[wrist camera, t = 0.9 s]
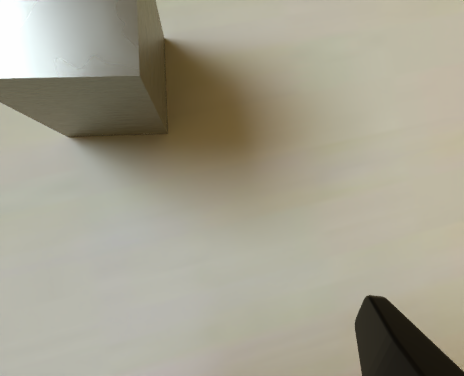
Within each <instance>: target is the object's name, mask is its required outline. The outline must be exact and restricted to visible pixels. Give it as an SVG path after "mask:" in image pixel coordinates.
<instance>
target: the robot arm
mask: <svg viewBox="0 0 464 376" xmlns="http://www.w3.org/2000/svg"><path fill="white" fill-rule="evenodd" d="M355 332H356V339H357V345H358V352H359V358H360V365H361V371H362V376H464V372H463V371H462V370H461V369H460V368H459V367H458V366H457V365H456V364H455V363H454V362H453V361H452V360H451V359H450V358H449V357H448V356H446V355H445V354H444V353H443V352H442V351H441V350H440V349H439V348H438V347H437V346H436V345H435V344H434V343H433V342H432V341H431V340H430V339H429V338H428V337H426V336H425V335H424V334H423V333H422V332H421V331H420V330H419V329H418V328H417V327H416V326H415V325H414V324H413V323H412V322H411V321H410V320H409V319H407V318H406V317H405V316H404V315H403V314H402V313H401V312H400V311H399V310H398V309H397V308H396V307H395V306H394V305H393V304H392V303H391V302H390V301H388V300H387V299H386V298H385V297H381V296H372V295H369V296H366V297H365V299H364V301H363V303H362V305H361V308H360V310H359V312H358V315H357V317H356V320H355Z"/></svg>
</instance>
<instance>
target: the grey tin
mask: <svg viewBox="0 0 464 376" xmlns="http://www.w3.org/2000/svg"><path fill="white" fill-rule="evenodd" d="M0 102H1V103H3V104H5V105H7V106H9V107H11V108H12V109H14V110H16V111H18V112H20V113H22V114H24V115H26V116H28V117H30V118H32V119H34V120H36V121H38V122H40V123H42V124H44V125H46V126H48V127H49V128H51V129H53V130H55V131H57V132H59V133H61V134H63V135H65V136H67V137H70V136H104V135H137V134H168V129H167V102H166V75H165V48H164V35H163V31H162V26H161V22H160V18H159V13H158V9H157V5H156V0H0Z"/></svg>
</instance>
